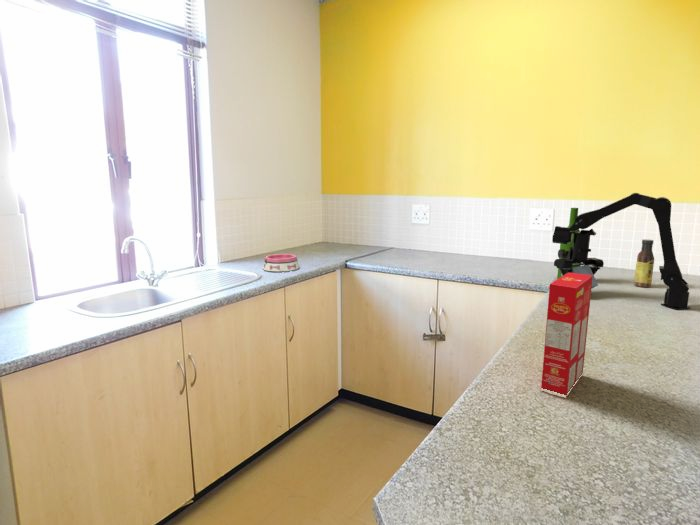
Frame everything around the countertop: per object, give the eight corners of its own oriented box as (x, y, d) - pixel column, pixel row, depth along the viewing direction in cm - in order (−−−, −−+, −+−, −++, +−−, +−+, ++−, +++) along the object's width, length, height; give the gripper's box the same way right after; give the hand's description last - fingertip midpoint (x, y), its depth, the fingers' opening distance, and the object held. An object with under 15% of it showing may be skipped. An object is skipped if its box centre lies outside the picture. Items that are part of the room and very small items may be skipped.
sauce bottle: (650, 288, 191) (656, 241, 187) (632, 286, 195) (638, 240, 191) (651, 285, 196) (657, 239, 192) (634, 283, 200) (640, 238, 196)
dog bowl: (260, 267, 240) (260, 254, 238) (295, 264, 245) (295, 252, 244) (265, 274, 222) (265, 260, 221) (303, 271, 228) (302, 258, 227)
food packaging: (559, 369, 114) (568, 272, 109) (582, 375, 111) (592, 275, 106) (540, 391, 103) (549, 284, 98) (565, 398, 100) (576, 288, 95)
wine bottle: (582, 283, 201) (590, 208, 194) (562, 283, 201) (568, 208, 194) (573, 278, 209) (580, 207, 203) (553, 278, 210) (559, 207, 203)
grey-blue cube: (598, 285, 177) (588, 264, 180) (581, 288, 175) (572, 267, 178) (585, 291, 184) (576, 271, 187) (569, 295, 182) (560, 274, 185)
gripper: (586, 241, 189) (581, 278, 192) (546, 242, 185) (543, 280, 188) (606, 246, 179) (601, 285, 182) (565, 247, 174) (561, 287, 177)
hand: (576, 284), depth 183 cm, fingers open, 9 cm apart
